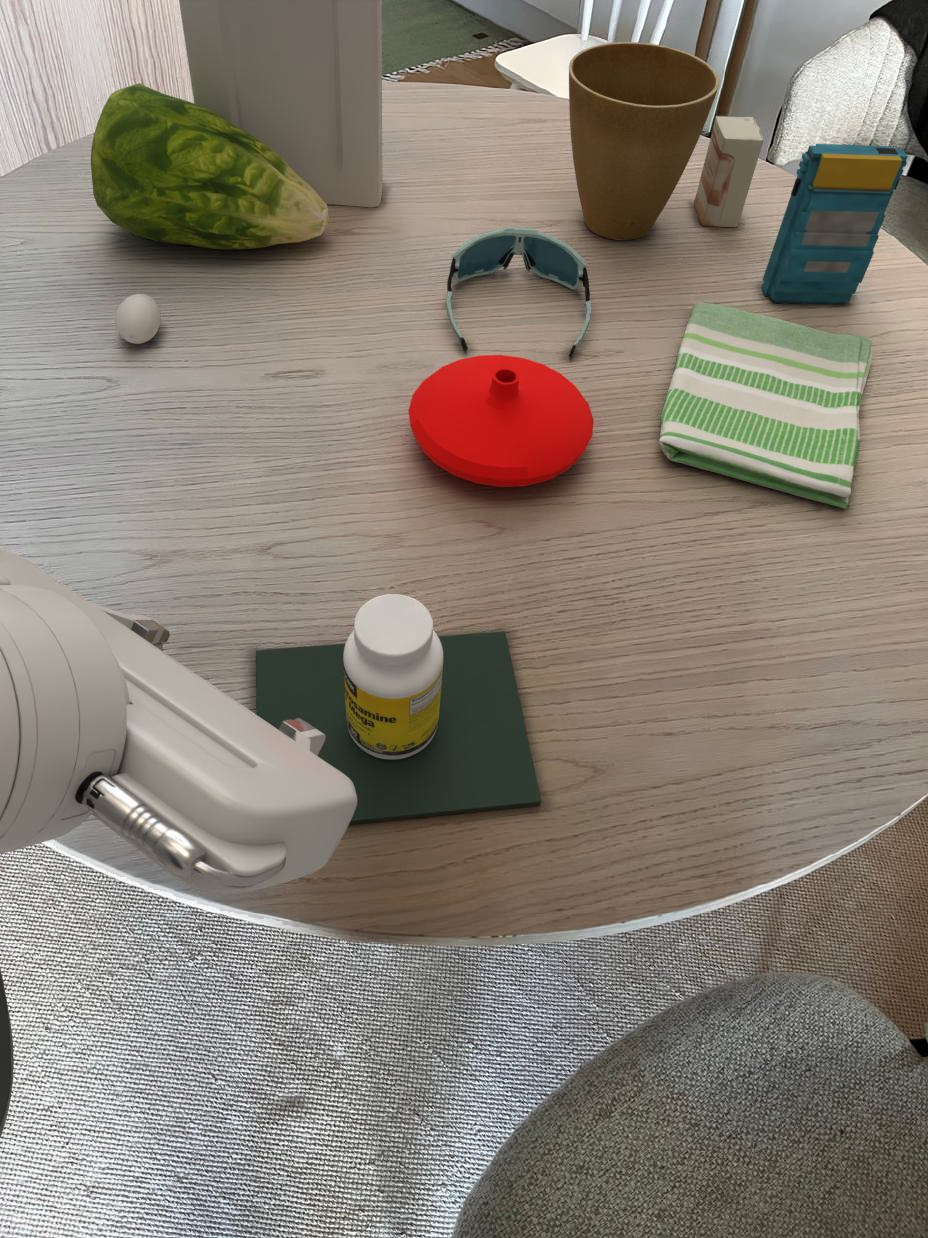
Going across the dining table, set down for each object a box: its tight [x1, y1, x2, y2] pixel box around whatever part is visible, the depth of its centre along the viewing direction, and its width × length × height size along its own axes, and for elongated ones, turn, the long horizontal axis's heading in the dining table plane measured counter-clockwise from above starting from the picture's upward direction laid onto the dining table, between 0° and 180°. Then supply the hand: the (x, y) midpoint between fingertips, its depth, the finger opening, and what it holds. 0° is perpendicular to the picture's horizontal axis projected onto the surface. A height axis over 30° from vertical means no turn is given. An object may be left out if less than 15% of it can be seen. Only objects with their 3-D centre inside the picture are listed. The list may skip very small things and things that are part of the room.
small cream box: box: [693, 115, 765, 228], centre depth 108 cm, size 5×4×10 cm
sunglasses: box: [445, 226, 592, 358], centre depth 96 cm, size 14×15×5 cm
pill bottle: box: [343, 593, 443, 760], centre depth 62 cm, size 6×6×11 cm
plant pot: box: [568, 41, 720, 241], centre depth 103 cm, size 15×15×16 cm
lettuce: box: [90, 83, 330, 251], centre depth 99 cm, size 14×23×13 cm, turn 83°
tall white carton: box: [178, 0, 384, 208], centre depth 102 cm, size 19×15×28 cm
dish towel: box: [658, 302, 874, 510], centre depth 90 cm, size 18×23×3 cm
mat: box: [255, 630, 542, 825], centre depth 67 cm, size 18×14×1 cm
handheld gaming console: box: [761, 143, 909, 305], centre depth 97 cm, size 10×4×15 cm, turn 93°
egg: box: [115, 293, 162, 345], centre depth 90 cm, size 4×6×4 cm, turn 176°
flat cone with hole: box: [407, 354, 595, 488], centre depth 83 cm, size 16×16×7 cm
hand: (228, 688), depth 45 cm, fingers open, 8 cm apart
